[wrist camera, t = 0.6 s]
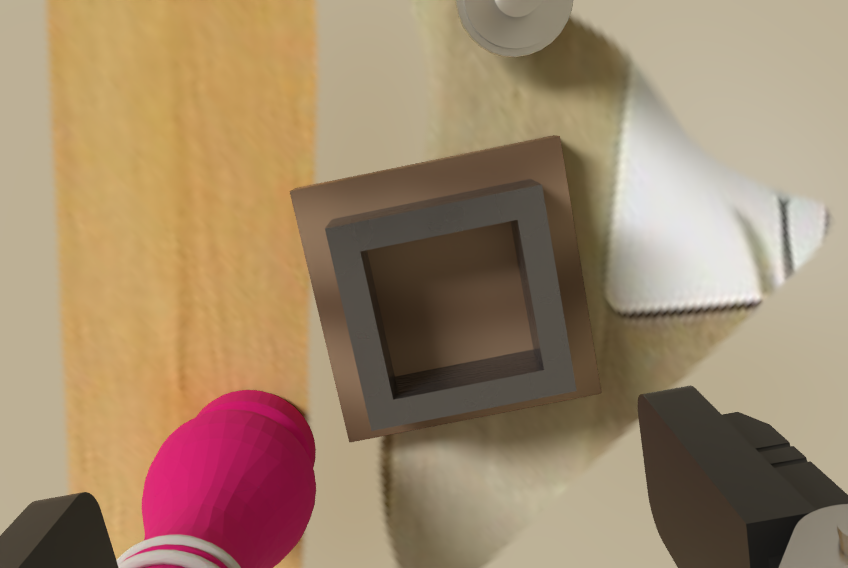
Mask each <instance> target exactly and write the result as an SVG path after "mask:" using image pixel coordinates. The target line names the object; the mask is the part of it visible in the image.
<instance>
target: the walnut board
mask: <svg viewBox="0 0 848 568" xmlns="http://www.w3.org/2000/svg"><path fill="white" fill-rule="evenodd" d="M527 179H532V180H534V181H536V182H538V183H540V184H542V188H543V194H544V200H545V206H546V212H547V218H548V224H549V230H550V236H551V241H552V247H553V253H554V259H555V265H556V271H557V277H558V283H559V289H560V295H561V301H562V307H563V313H564V319H565V325H566V330H567V336H568V342H569V348H570V354H571V360H572V366H573V372H574V378H575V384H576V390H577V391H574V392H569V393H564V394H559V395H554V396H549V397H544V398H539V399H533V400H528V401H523V402H518V403H513V404H508V405H503V406H498V407H493V408H487V409H482V410H477V411H472V412H467V413H462V414H457V415H452V416H446V417H441V418H436V419H431V420H426V421H421V422H416V423H411V424H405V425H400V426H395V427H390V428H385V429H380V430H375V431H371V427H370V423H369V418H368V414H367V410H366V405H365V401H364V396H363V392H362V388H361V383H360V379H359V375H358V370H357V366H356V362H355V357H354V353H353V349H352V344H351V340H350V336H349V331H348V327H347V323H346V318H345V314H344V310H343V305H342V301H341V297H340V292H339V288H338V284H337V279H336V275H335V271H334V266H333V262H332V258H331V253H330V249H329V245H328V240H327V236H326V232H325V228H326V226H327V225H328V224H329V223H330V221H331V220H332V219H335V218H340V217H345V216H350V215H355V214H359V213H364V212H369V211H374V210H379V209H384V208H389V207H394V206H399V205H404V204H409V203H414V202H418V201H423V200H428V199H433V198H438V197H443V196H448V195H453V194H458V193H463V192H468V191H473V190H478V189H482V188H487V187H492V186H497V185H502V184H507V183H512V182H517V181H522V180H527ZM290 195H291V199H292V203H293V207H294V211H295V216H296V220H297V224H298V228H299V232H300V237H301V241H302V245H303V249H304V253H305V258H306V262H307V266H308V270H309V274H310V279H311V283H312V287H313V291H314V295H315V300H316V304H317V308H318V312H319V316H320V321H321V325H322V329H323V333H324V338H325V342H326V345H327V350H328V354H329V358H330V363H331V367H332V371H333V375H334V380H335V384H336V388H337V392H338V396H339V400H340V405H341V409H342V413H343V417H344V422H345V426H346V430H347V434H348V438H349V442H354V441H360V440H365V439H370V438H375V437H380V436H385V435H390V434H395V433H401V432H406V431H411V430H416V429H421V428H426V427H431V426H437V425H442V424H447V423H452V422H457V421H462V420H467V419H472V418H478V417H483V416H488V415H493V414H498V413H503V412H508V411H513V410H519V409H524V408H529V407H534V406H539V405H544V404H549V403H554V402H560V401H565V400H570V399H575V398H580V397H585V396H590V395H596V394H601V388H600V381H599V375H598V369H597V363H596V357H595V350H594V344H593V338H592V332H591V326H590V319H589V313H588V307H587V301H586V295H585V289H584V282H583V276H582V270H581V264H580V258H579V251H578V245H577V239H576V233H575V227H574V220H573V214H572V208H571V202H570V196H569V189H568V183H567V177H566V171H565V165H564V158H563V152H562V146H561V140H560V136H554V135H553V136H549V137H544V138H539V139H534V140H529V141H524V142H519V143H514V144H509V145H505V146H500V147H495V148H490V149H485V150H480V151H475V152H470V153H465V154H461V155H456V156H451V157H446V158H441V159H436V160H431V161H426V162H421V163H417V164H412V165H407V166H402V167H397V168H392V169H387V170H382V171H377V172H373V173H368V174H363V175H358V176H353V177H348V178H343V179H338V180H334V181H329V182H324V183H319V184H314V185H309V186H304V187H299V188H295V189H293V190H291V191H290ZM367 253H368V257H369V262H370V266H371V271H372V276H373V280H374V285H375V289H376V294H377V298H378V303H379V307H380V312H381V316H382V321H383V325H384V330H385V335H386V339H387V344H388V348H389V353H390V357H391V362H392V366H393V371H394V375H395V376H400V375H405V374H410V373H415V372H421V371H426V370H431V369H436V368H441V367H446V366H451V365H456V364H461V363H466V362H471V361H476V360H481V359H487V358H492V357H497V356H502V355H507V354H512V353H517V352H522V351H527V350H532V349H533V344H532V339H531V333H530V328H529V322H528V316H527V311H526V305H525V300H524V294H523V289H522V283H521V277H520V272H519V266H518V261H517V255H516V249H515V244H514V238H513V233H512V227H511V221H509V222H504V223H499V224H494V225H489V226H484V227H479V228H474V229H469V230H464V231H459V232H454V233H449V234H444V235H439V236H435V237H430V238H425V239H420V240H415V241H410V242H405V243H400V244H395V245H390V246H385V247H380V248H375V249H370V250H367Z"/></svg>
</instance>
